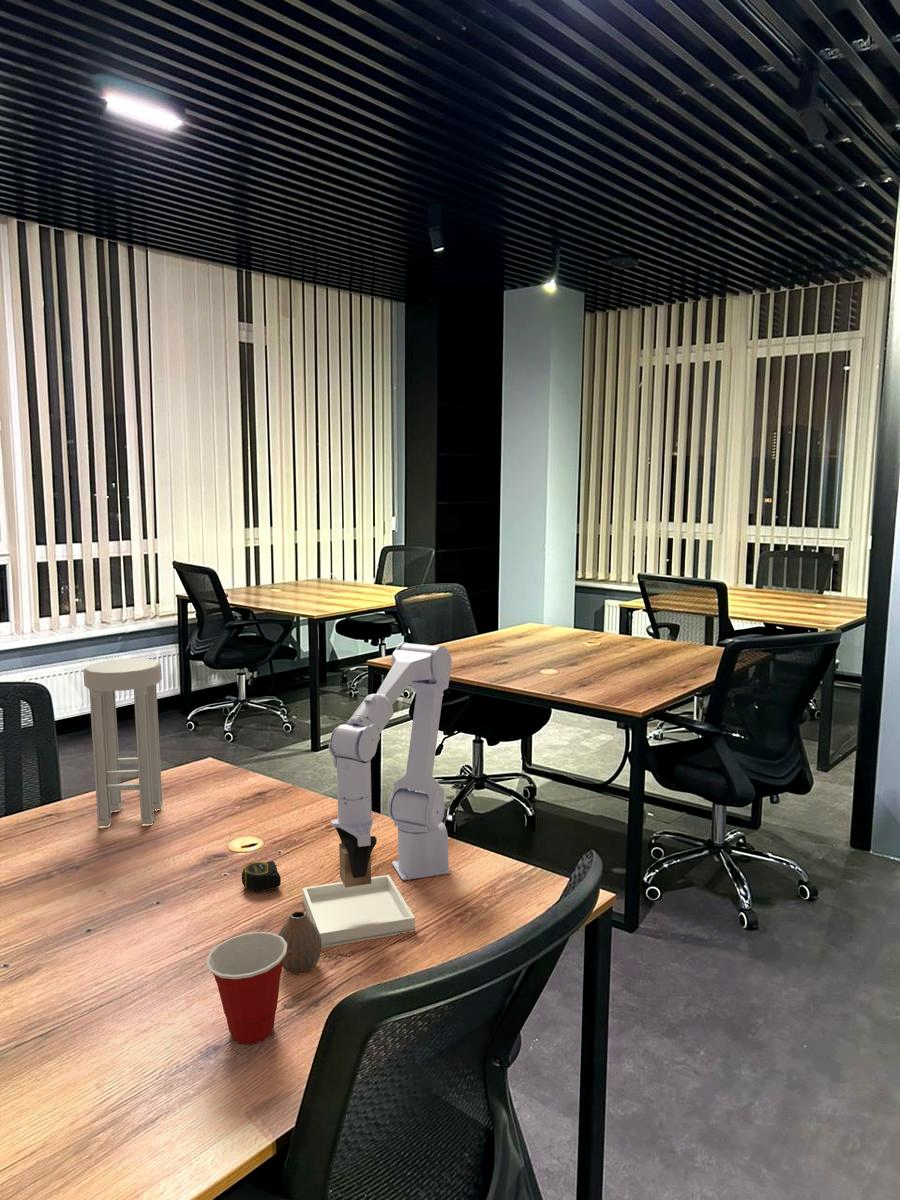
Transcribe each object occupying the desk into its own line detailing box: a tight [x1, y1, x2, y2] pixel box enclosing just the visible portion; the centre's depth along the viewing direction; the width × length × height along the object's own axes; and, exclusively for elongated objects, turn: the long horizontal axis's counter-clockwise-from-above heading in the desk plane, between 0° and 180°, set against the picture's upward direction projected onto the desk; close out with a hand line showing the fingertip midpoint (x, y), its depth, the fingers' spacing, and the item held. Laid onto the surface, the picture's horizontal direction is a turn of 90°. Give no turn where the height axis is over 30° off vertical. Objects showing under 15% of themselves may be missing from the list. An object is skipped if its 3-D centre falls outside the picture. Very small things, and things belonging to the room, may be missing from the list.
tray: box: [302, 874, 416, 949], centre depth 153 cm, size 16×17×2 cm
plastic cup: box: [205, 931, 287, 1045], centre depth 120 cm, size 11×11×12 cm
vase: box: [278, 910, 323, 975], centre depth 137 cm, size 7×7×9 cm
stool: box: [83, 657, 164, 827], centre depth 196 cm, size 16×16×35 cm
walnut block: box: [338, 842, 372, 888], centre depth 152 cm, size 4×4×6 cm
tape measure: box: [241, 860, 282, 892], centre depth 164 cm, size 7×7×4 cm
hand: (355, 870), depth 152 cm, fingers closed on walnut block, 4 cm apart
